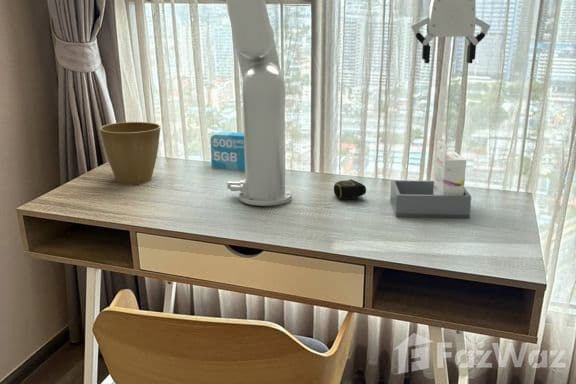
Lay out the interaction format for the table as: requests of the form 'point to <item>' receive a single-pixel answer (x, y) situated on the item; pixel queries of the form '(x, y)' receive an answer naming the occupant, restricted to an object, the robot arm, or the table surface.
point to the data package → (228, 151)
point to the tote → (427, 201)
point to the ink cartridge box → (448, 172)
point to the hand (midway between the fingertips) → (447, 62)
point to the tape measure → (349, 189)
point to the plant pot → (131, 150)
